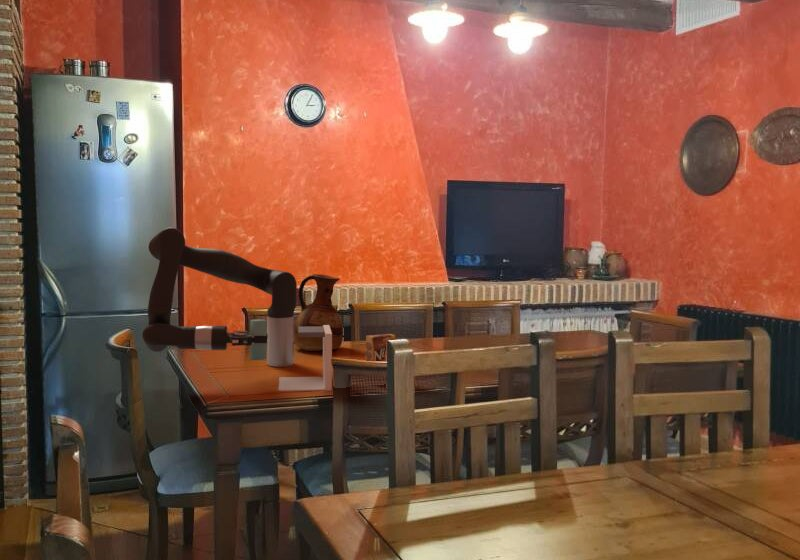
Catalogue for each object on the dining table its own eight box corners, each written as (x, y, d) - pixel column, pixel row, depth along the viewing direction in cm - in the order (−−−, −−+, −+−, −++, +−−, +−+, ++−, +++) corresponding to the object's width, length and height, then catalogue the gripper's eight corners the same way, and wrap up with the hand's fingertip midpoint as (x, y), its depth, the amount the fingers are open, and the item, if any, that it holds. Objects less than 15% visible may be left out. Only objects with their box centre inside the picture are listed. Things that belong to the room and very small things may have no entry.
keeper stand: (279, 378, 248) (279, 325, 247) (328, 377, 251) (329, 324, 249) (278, 391, 231) (278, 334, 229) (331, 390, 233) (332, 333, 231)
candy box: (371, 384, 242) (371, 337, 240) (364, 382, 245) (364, 335, 244) (394, 381, 247) (395, 334, 245) (387, 379, 250) (388, 332, 249)
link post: (250, 357, 240) (250, 319, 239) (266, 357, 241) (266, 319, 240) (249, 360, 235) (249, 321, 234) (266, 360, 236) (266, 321, 235)
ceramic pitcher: (340, 354, 292) (341, 276, 289) (288, 353, 292) (288, 275, 289) (345, 345, 311) (345, 272, 309) (295, 344, 311) (296, 271, 309)
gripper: (208, 329, 228) (266, 329, 230) (213, 322, 242) (268, 322, 244) (208, 354, 229) (266, 354, 231) (213, 345, 243) (267, 346, 245)
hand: (266, 338), depth 238 cm, fingers closed on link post, 5 cm apart
